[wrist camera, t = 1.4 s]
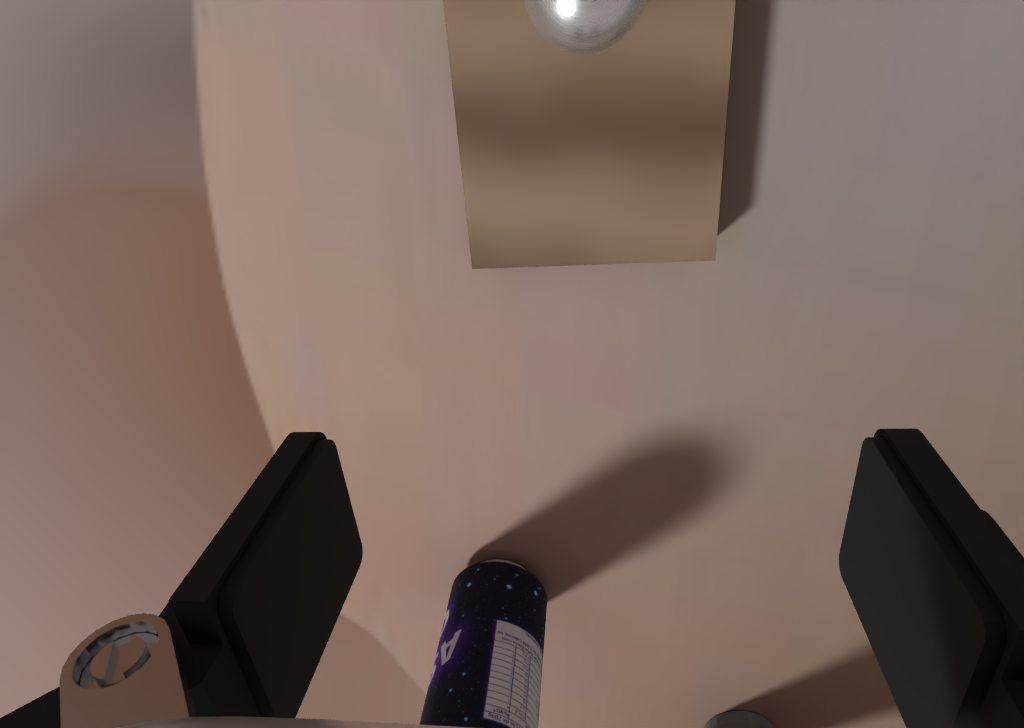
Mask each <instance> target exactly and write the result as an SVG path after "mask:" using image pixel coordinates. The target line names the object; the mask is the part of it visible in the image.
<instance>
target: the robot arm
mask: <svg viewBox="0 0 1024 728" xmlns="http://www.w3.org/2000/svg"><path fill="white" fill-rule="evenodd" d="M361 560H362V543H361V539H360V536H359V532H358V528H357V524H356V520H355V517H354V513H353V509H352V505H351V501H350V498H349V494H348V490H347V486H346V483H345V479H344V475H343V471H342V467H341V464H340V460H339V456H338V452H337V448H336V445H335V443H334V441H333V440H327V438H326V436H325V435H324V434H323V433H322V432H293V433H290V434H289V435H288V436H287V437H286V439H285V440H284V441H283V443H282V444H281V446H280V447H279V448H278V450H277V451H276V452H275V454H274V455H273V457H272V458H271V460H270V461H269V462H268V464H267V465H266V466H265V468H264V469H263V470H262V472H261V473H260V475H259V476H258V477H257V479H256V480H255V482H254V483H253V484H252V486H251V487H250V488H249V490H248V491H247V493H246V494H245V495H244V497H243V498H242V499H241V501H240V502H239V504H238V505H237V506H236V508H235V509H234V511H233V512H232V513H231V515H230V516H229V518H228V519H227V520H226V522H225V523H224V524H223V526H222V527H221V528H220V530H219V531H218V533H217V534H216V536H215V537H214V538H213V540H212V541H211V542H210V544H209V545H208V546H207V548H206V549H205V551H204V552H203V553H202V555H201V556H200V558H199V559H198V560H197V562H196V563H195V565H194V566H193V567H192V569H191V570H190V571H189V573H188V574H187V576H186V577H185V578H184V580H183V581H182V583H181V584H180V585H179V587H178V588H177V589H176V591H175V592H174V593H173V595H172V596H171V598H170V599H169V602H168V604H167V605H166V607H165V608H164V609H163V611H162V612H161V614H160V615H159V616H157V615H153V614H145V613H142V614H135V615H129V616H126V617H123V618H120V619H117V620H114V621H112V622H110V623H108V624H106V625H105V626H103V627H101V628H99V629H97V630H96V631H95V632H93V633H92V634H91V635H89V636H88V637H87V638H86V639H84V640H83V641H82V642H81V643H80V644H79V645H78V646H77V647H76V648H75V650H74V651H73V652H72V653H71V654H70V656H69V657H68V659H67V661H66V662H65V664H64V666H63V668H62V671H61V676H60V687H58V688H56V689H54V690H52V691H50V692H48V693H46V694H45V695H43V696H41V697H39V698H37V699H35V700H33V701H31V702H30V703H28V704H26V705H24V706H22V707H20V708H19V709H16V710H15V711H13V712H11V713H9V714H7V715H5V716H4V717H2V718H0V728H470V727H452V726H434V725H416V724H398V723H379V722H361V721H342V720H324V719H297V718H295V717H296V715H297V712H298V710H299V708H300V706H301V703H302V701H303V699H304V696H305V693H306V691H307V689H308V687H309V684H310V682H311V680H312V677H313V675H314V673H315V670H316V668H317V666H318V663H319V661H320V658H321V656H322V654H323V651H324V649H325V647H326V644H327V642H328V640H329V637H330V635H331V633H332V630H333V628H334V626H335V623H336V621H337V618H338V616H339V614H340V612H341V609H342V607H343V604H344V602H345V600H346V597H347V595H348V593H349V590H350V588H351V586H352V583H353V581H354V579H355V576H356V574H357V572H358V569H359V567H360V564H361ZM839 567H840V572H841V576H842V579H843V581H844V583H845V585H846V588H847V590H848V592H849V595H850V597H851V599H852V602H853V604H854V606H855V609H856V611H857V613H858V616H859V618H860V620H861V623H862V625H863V627H864V630H865V632H866V634H867V637H868V639H869V641H870V644H871V646H872V648H873V651H874V653H875V655H876V658H877V660H878V662H879V665H880V667H881V669H882V672H883V674H884V676H885V679H886V681H887V683H888V686H889V688H890V690H891V693H892V695H893V697H894V700H895V702H896V704H897V707H898V709H899V711H900V714H901V716H902V718H903V721H904V723H905V725H906V728H1024V558H1023V556H1022V555H1021V554H1020V552H1019V551H1018V550H1017V549H1016V547H1015V546H1014V545H1013V543H1012V542H1011V541H1010V540H1009V538H1008V537H1007V536H1006V534H1005V533H1004V532H1003V531H1002V529H1001V528H1000V527H999V525H998V524H997V523H996V521H995V520H994V519H993V518H992V517H991V516H990V515H989V514H988V513H987V512H985V511H983V510H981V509H980V508H979V507H978V505H977V504H976V503H975V502H974V500H973V499H972V498H971V496H970V495H969V494H968V492H967V491H966V490H965V488H964V487H963V486H962V485H961V483H960V482H959V481H958V479H957V478H956V477H955V475H954V474H953V473H952V471H951V470H950V469H949V467H948V466H947V465H946V464H945V462H944V461H943V460H942V458H941V457H940V456H939V454H938V453H937V452H936V450H935V449H934V448H933V447H932V445H931V444H930V443H929V441H928V440H927V439H926V437H925V436H924V435H923V433H922V432H920V431H919V430H918V429H879V430H877V431H876V433H875V434H874V437H868V438H865V440H864V441H863V444H862V448H861V453H860V458H859V463H858V467H857V472H856V477H855V482H854V487H853V491H852V496H851V501H850V506H849V511H848V515H847V520H846V525H845V530H844V534H843V539H842V544H841V549H840V554H839Z"/></svg>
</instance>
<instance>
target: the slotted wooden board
mask: <svg viewBox="0 0 1024 728" xmlns="http://www.w3.org/2000/svg"><path fill="white" fill-rule="evenodd" d="M735 1H736V0H647V2H646V5H645V8H644V10H643V12H642V14H641V16H640V18H639V20H638V21H637V23H636V24H635V26H634V27H633V29H632V30H631V31H630V32H629V33H628V34H627V35H626V36H625V37H624V38H623V39H622V40H621V41H619V42H618V43H616V44H615V45H613V46H611V47H609V48H608V49H605V50H603V51H600V52H596V53H591V54H575V53H570V52H566V51H564V50H561V49H559V48H557V47H555V46H553V45H552V44H551V43H549V42H548V41H546V40H545V39H544V38H543V37H542V36H541V35H540V33H539V32H538V31H537V29H536V28H535V27H534V25H533V23H532V22H531V20H530V17H529V15H528V13H527V10H526V7H525V3H524V0H443V4H444V14H445V23H446V32H447V41H448V50H449V60H450V69H451V78H452V87H453V96H454V105H455V115H456V124H457V133H458V142H459V151H460V161H461V170H462V179H463V188H464V197H465V207H466V216H467V225H468V234H469V243H470V253H471V262H472V269H482V268H510V267H538V266H567V265H595V264H623V263H652V262H680V261H708V260H715V259H716V246H717V233H718V220H719V207H720V194H721V181H722V168H723V156H724V143H725V130H726V117H727V104H728V91H729V78H730V65H731V53H732V40H733V27H734V14H735Z"/></svg>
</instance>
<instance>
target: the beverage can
mask: <svg viewBox="0 0 1024 728" xmlns="http://www.w3.org/2000/svg"><path fill="white" fill-rule="evenodd" d="M546 607H547V595H546V592H545V589H544V587H543V585H542V584H541V582H540V581H539V580H538V579H537V578H536V577H535V576H534V575H533V574H531V573H530V572H528V571H527V570H526V569H525V568H523V567H522V566H520V565H518V564H516V563H514V562H511V561H507V560H499V559H495V560H487V561H484V562H481V563H478V564H475V565H472V566H470V567H468V568H466V569H465V570H463V571H462V572H461V573H460V574H459V575H458V576H457V577H456V579H455V581H454V583H453V586H452V590H451V594H450V599H449V603H448V607H447V611H446V615H445V620H444V624H443V628H442V632H441V637H440V641H439V645H438V649H437V653H436V658H435V662H434V666H433V670H432V675H431V679H430V683H429V687H428V691H427V696H426V700H425V704H424V708H423V712H422V717H421V722H420V725H434V726H452V727H470V728H538V720H539V706H540V692H541V678H542V664H543V649H544V635H545V621H546Z"/></svg>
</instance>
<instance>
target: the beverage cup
mask: <svg viewBox="0 0 1024 728" xmlns="http://www.w3.org/2000/svg"><path fill="white" fill-rule="evenodd" d="M705 728H773V726H772V724H771V723H770V722H769V721H768V720H767V719H766V718H765V717H763V716H761V715H759V714H757V713H753V712H749V711H730V712H724V713H722V714H719V715H716V716H715V717H713V718H712V719H710V720H709V721H708V723H707V724H706V726H705Z"/></svg>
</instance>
